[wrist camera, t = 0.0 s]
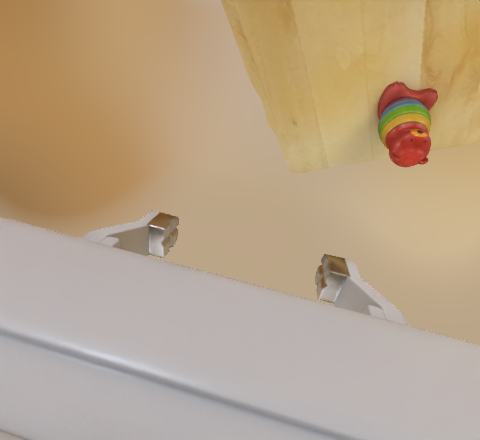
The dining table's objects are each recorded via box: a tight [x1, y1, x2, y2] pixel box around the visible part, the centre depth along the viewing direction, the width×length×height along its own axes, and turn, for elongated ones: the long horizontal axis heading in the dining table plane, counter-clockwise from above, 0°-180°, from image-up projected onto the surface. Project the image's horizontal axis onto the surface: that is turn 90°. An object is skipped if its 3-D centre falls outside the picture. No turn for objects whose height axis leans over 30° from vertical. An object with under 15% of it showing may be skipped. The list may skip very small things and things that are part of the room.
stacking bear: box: [378, 82, 438, 167], centre depth 52 cm, size 11×10×18 cm
